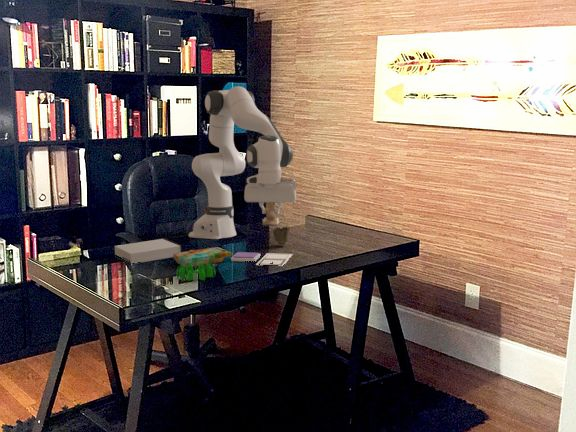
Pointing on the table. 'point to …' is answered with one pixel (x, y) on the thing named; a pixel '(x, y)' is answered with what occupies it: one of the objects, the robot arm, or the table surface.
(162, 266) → the table surface
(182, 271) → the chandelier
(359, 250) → the table surface
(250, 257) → the ink pad
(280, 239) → the cup
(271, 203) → the stamp
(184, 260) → the multicoloured oblong shape
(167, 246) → the disc drive
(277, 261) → the form
